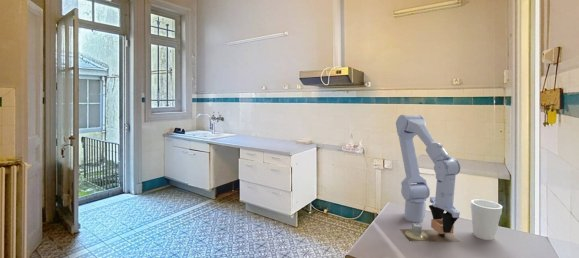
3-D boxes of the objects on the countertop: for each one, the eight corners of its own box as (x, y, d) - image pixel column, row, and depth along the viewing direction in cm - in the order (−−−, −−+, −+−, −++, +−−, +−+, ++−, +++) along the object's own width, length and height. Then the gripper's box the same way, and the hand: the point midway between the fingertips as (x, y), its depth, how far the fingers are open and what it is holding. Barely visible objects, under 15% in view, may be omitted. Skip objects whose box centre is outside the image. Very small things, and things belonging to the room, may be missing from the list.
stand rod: (439, 233, 106) (439, 223, 106) (445, 235, 105) (446, 225, 104) (437, 235, 105) (438, 225, 104) (444, 237, 103) (444, 227, 103)
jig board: (446, 232, 109) (446, 230, 109) (460, 244, 100) (460, 241, 100) (399, 231, 109) (399, 229, 109) (408, 243, 100) (409, 240, 100)
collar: (430, 227, 107) (431, 219, 107) (444, 226, 107) (444, 219, 107) (439, 233, 102) (439, 225, 101) (453, 233, 102) (453, 225, 102)
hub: (401, 230, 108) (401, 220, 108) (420, 230, 109) (421, 220, 108) (411, 240, 101) (411, 230, 100) (432, 239, 101) (432, 229, 101)
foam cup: (496, 235, 107) (499, 202, 106) (502, 247, 99) (505, 210, 98) (466, 230, 111) (469, 197, 110) (469, 240, 103) (472, 205, 102)
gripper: (423, 186, 110) (420, 220, 111) (446, 199, 95) (443, 238, 97) (441, 185, 110) (438, 219, 112) (466, 199, 96) (463, 238, 97)
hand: (441, 228), depth 104 cm, fingers closed on collar, 5 cm apart
